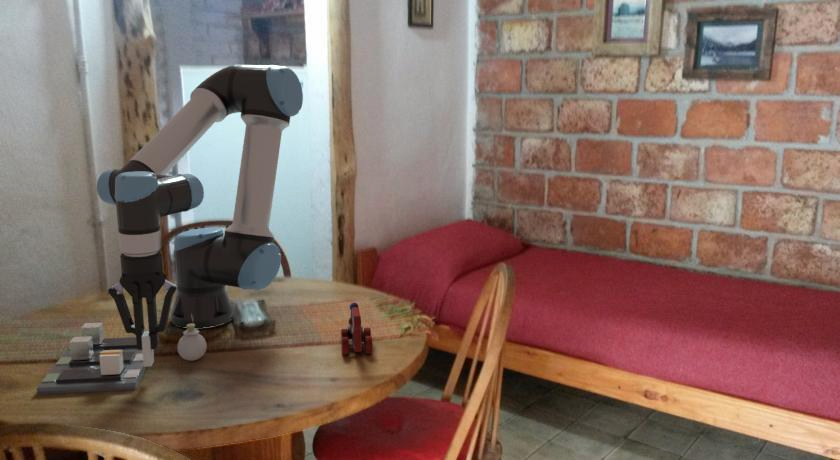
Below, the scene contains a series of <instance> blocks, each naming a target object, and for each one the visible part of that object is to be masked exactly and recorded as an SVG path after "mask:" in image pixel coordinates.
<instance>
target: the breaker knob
mask: <svg viewBox="0 0 840 460" xmlns="http://www.w3.org/2000/svg"><path fill="white" fill-rule="evenodd" d="M99 357H100V369H101V375H111V374H121V372H122V370H123V368H124V366H123V354H122V350H107V351H102V352H101V355H100V356H99Z"/></svg>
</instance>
